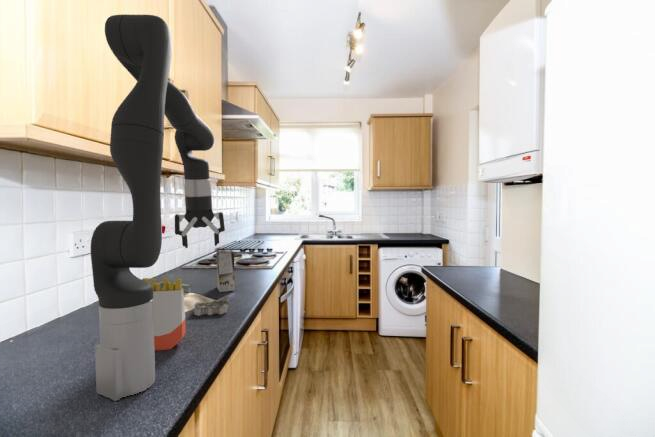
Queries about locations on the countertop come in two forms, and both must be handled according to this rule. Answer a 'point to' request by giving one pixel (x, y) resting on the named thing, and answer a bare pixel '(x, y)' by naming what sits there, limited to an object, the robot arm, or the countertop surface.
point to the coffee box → (225, 270)
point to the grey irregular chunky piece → (211, 307)
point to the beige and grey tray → (190, 297)
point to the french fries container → (168, 313)
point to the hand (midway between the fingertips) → (201, 246)
